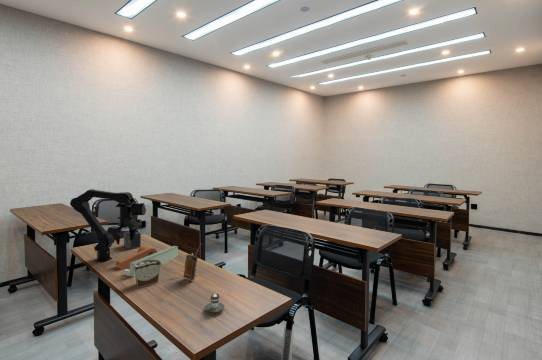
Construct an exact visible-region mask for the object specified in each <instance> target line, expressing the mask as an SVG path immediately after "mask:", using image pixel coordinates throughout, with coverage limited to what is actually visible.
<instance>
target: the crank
mask: <svg viewBox="0 0 542 360" xmlns="http://www.w3.org/2000/svg"><path fill="white" fill-rule="evenodd" d="M157 252H158V251H157V249H156V248H154V247H151V246H149V245H142V246H141V247H140V248H138V249H137V251H136V253H134V254H131V255H130V256H128V257H126V258H123V259H118V260H115V267H116V268H118V269H119V270H121V271H124V270H125V269H130V263H131V262H134V261H136V260H139V259H141V258H144V257H146V256H149V255H152V254H154V253H157Z"/></svg>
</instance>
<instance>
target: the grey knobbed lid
mask: <svg viewBox="0 0 542 360" xmlns="http://www.w3.org/2000/svg"><path fill="white" fill-rule="evenodd" d="M210 302H211V303H210ZM210 302H209V303H207V304H206V305H205V306H204V310H205V311H206V312H208V313H218V312H221V311H223V310H224V309H225V305H224V304H223V303H222V302H220V294H218V293H212V294H211V295H210Z"/></svg>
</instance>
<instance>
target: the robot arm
mask: <svg viewBox="0 0 542 360" xmlns="http://www.w3.org/2000/svg"><path fill="white" fill-rule="evenodd" d="M93 198H96V199H97V198H98V199H104V200H111V201H115V202H116V203H117V204H116V205H115V207H116V208H119V216H118V217H117V219H119V223H118V224H117V226H116V225H115V226H114V225H113V226H109V227H108V228H107V229H105V228H104V227H103V225H102V224H101V223H100V221H99V220H98V218H97V217H96V216H95V214H94V213H93V211H92V210H91V206H90V201H91V200H92V199H93ZM136 201H137V200H135V198H134V197H133V194H132V193H131V192H129V191H128V192H127V191H124V192H121V191H120V192H113V191H105V190H99V189H94V188H93V189H88V190H86V191H85V192H84V193H82V194H80V195H78V196H77V197H74V198H71V200H70V202H69V205H70V207H71V208H73V210H74V211H76V212H77V213H79V214H80V215H82V217H83V218H84V220H85V222H87V224H88V226H89V227H90V228H91V230H92V231H93V232H94V234H95V236H96V241H97V244H96V245H94V247H93V249H94V251H95V252H96V258H94V259H93V261H97V262H101V263H102V262H106V261H109V260H112V259H113V257H111V249H110V248H112V245H113V244H114V243H115V242H116V244H117V245H120V243H121V242H120V241H121V234H122V231H123V230H127V229H128V231H129V232H130V239H131V240H133V238H134V236H135V233H136V232H138V230H140V229H141V228H142V226H143V224H142V220H141V219H140V218H138V219H134V217H133V216H145V215H146V211H147V208H146V205H145V202H140V203H139V202H136Z"/></svg>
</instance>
